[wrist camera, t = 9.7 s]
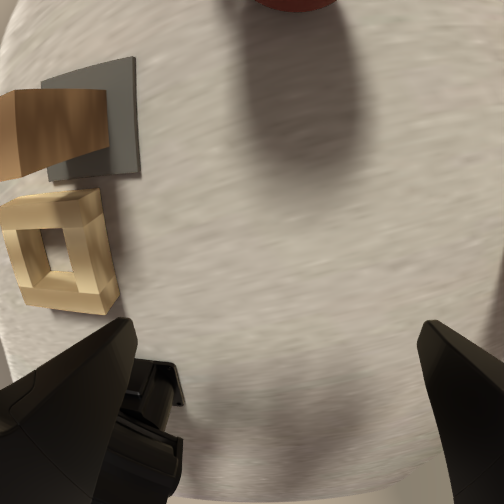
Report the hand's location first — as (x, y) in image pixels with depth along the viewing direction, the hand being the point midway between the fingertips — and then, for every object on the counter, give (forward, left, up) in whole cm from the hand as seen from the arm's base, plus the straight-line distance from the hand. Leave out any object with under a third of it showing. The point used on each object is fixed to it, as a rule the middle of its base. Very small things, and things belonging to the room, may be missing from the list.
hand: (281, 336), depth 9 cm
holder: (-3, +17, -13) cm, 22 cm away
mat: (+7, +13, -13) cm, 20 cm away
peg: (+7, +13, -12) cm, 19 cm away
